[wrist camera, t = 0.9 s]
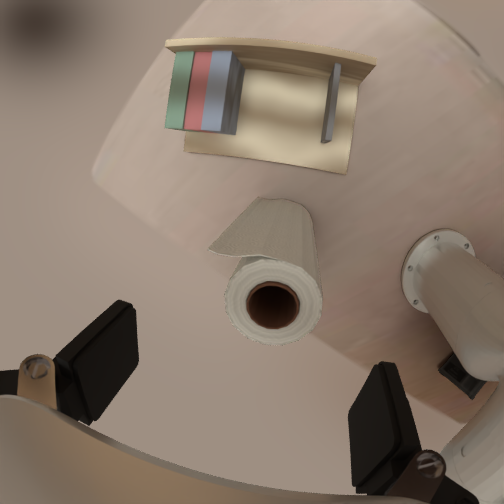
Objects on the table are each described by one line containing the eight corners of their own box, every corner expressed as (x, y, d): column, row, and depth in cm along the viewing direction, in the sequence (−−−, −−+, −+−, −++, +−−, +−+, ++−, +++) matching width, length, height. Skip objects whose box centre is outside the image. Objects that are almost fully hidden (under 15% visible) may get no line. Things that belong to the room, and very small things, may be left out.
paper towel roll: (316, 242, 38) (328, 341, 18) (270, 250, 39) (236, 351, 19) (305, 187, 35) (311, 231, 16) (258, 196, 37) (205, 250, 17)
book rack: (199, 65, 32) (166, 39, 22) (356, 82, 30) (376, 57, 20) (188, 151, 36) (149, 152, 26) (344, 173, 34) (360, 181, 24)
